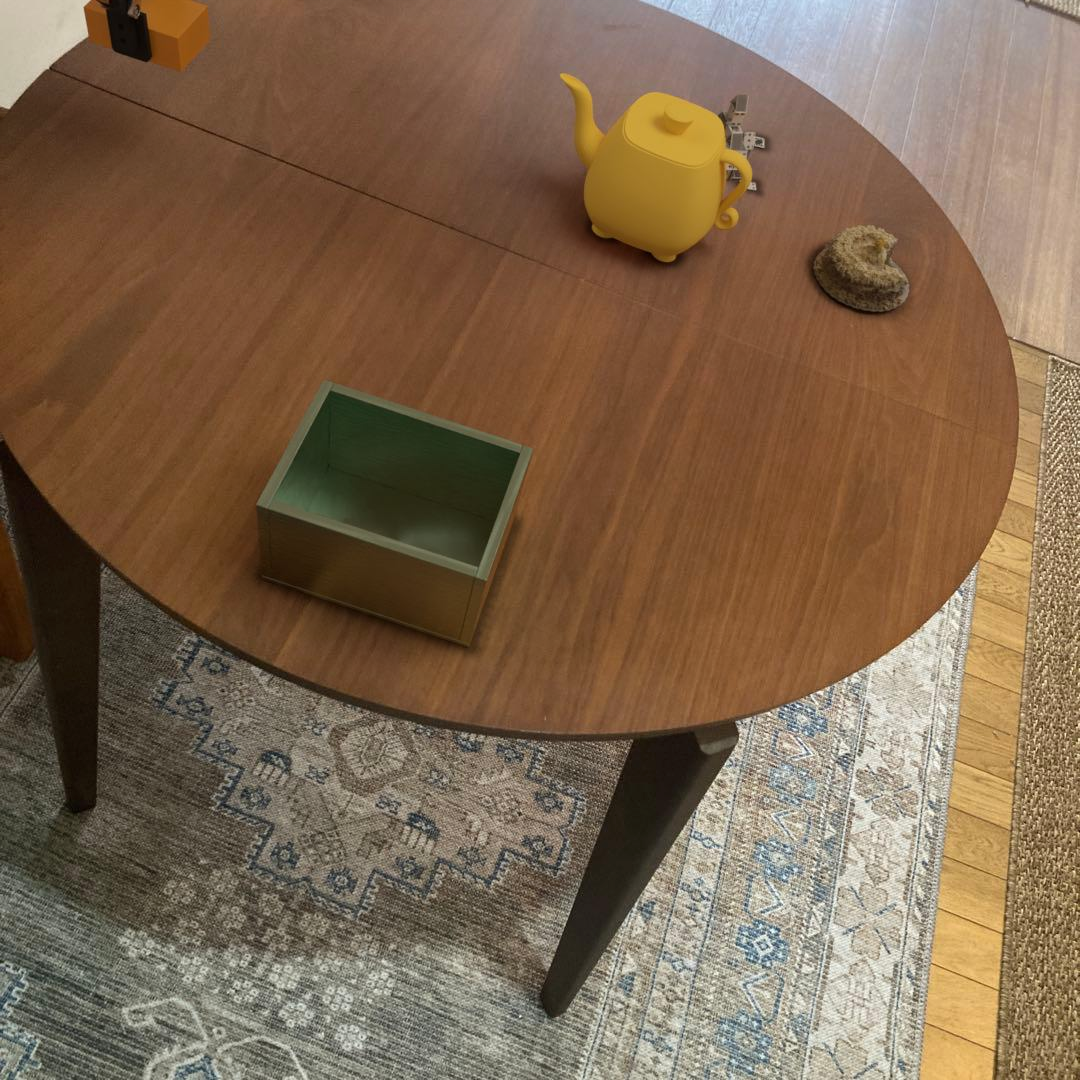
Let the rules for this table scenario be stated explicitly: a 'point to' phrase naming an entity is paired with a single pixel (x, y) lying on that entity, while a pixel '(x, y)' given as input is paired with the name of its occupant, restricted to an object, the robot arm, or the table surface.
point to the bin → (391, 511)
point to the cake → (862, 269)
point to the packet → (160, 29)
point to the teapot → (656, 172)
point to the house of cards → (738, 134)
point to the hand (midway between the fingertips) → (150, 34)
